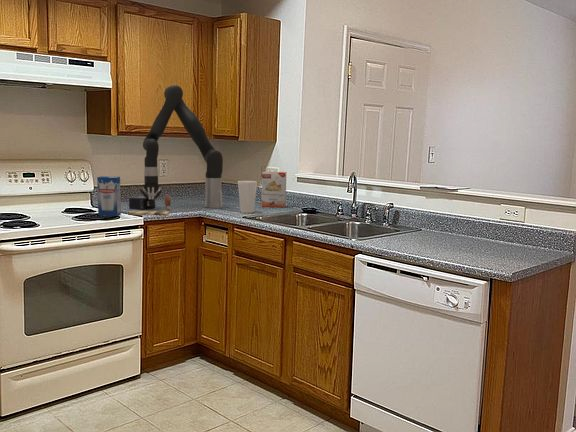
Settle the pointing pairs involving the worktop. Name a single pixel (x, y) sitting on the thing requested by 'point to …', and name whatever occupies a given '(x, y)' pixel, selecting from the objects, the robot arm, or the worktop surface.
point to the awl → (167, 202)
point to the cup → (247, 195)
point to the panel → (149, 212)
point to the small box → (139, 203)
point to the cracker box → (273, 189)
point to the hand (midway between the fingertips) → (151, 205)
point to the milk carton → (109, 196)
